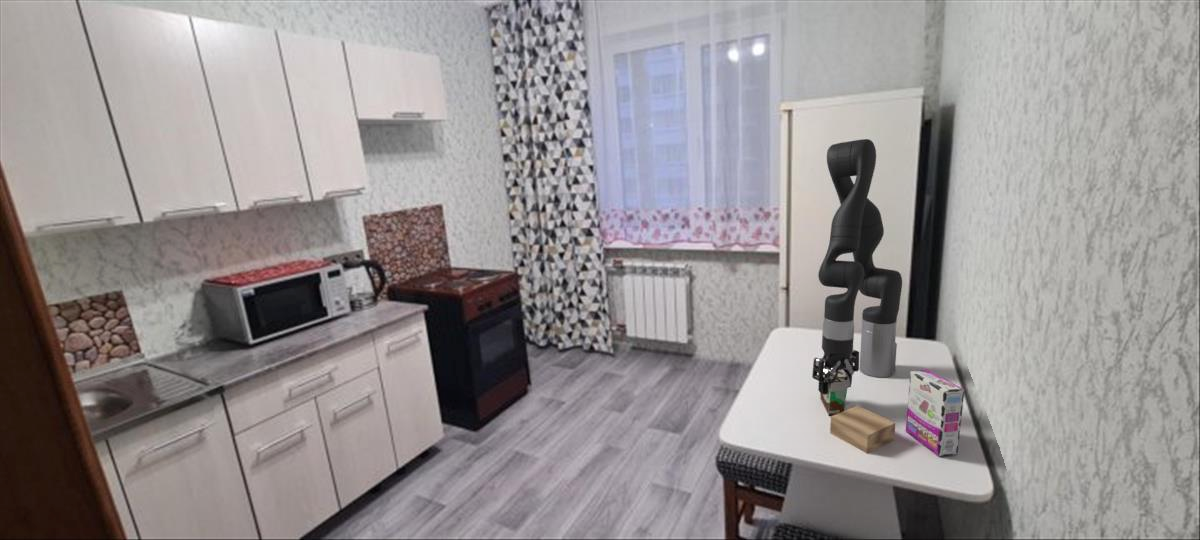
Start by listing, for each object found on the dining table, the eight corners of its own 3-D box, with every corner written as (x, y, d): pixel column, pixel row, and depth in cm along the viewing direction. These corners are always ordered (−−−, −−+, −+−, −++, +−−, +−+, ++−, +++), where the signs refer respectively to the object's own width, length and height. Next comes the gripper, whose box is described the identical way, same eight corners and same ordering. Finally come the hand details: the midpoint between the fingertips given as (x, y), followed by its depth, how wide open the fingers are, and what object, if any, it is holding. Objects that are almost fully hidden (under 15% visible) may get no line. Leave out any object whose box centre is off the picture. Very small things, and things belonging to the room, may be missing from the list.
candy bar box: (959, 455, 111) (966, 389, 107) (938, 457, 110) (945, 391, 107) (923, 429, 122) (928, 368, 118) (904, 431, 121) (909, 370, 117)
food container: (855, 419, 128) (857, 385, 125) (829, 418, 129) (831, 384, 127) (842, 397, 139) (843, 364, 137) (819, 396, 141) (820, 364, 138)
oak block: (856, 422, 127) (857, 405, 126) (894, 441, 118) (895, 422, 117) (830, 434, 123) (830, 416, 121) (866, 454, 114) (867, 435, 113)
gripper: (846, 325, 135) (842, 379, 139) (806, 334, 130) (804, 390, 134) (869, 333, 129) (865, 389, 132) (829, 343, 124) (826, 401, 127)
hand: (834, 389), depth 133 cm, fingers open, 8 cm apart
